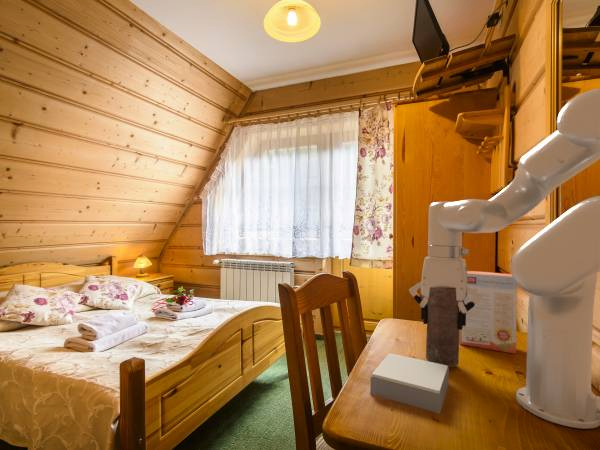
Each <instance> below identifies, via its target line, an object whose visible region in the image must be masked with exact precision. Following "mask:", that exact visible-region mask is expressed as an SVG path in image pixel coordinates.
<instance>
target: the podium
mask: <svg viewBox="0 0 600 450" xmlns="http://www.w3.org/2000/svg"><path fill="white" fill-rule="evenodd" d="M449 376H450V367H448V366H447V365H442V364H438V363H433V362H429V361H428V360H423V359H420V358H413V357H409V356H405V355H400V354H395V353H390V352H389V353H388V354H387V355H386V356H385V357H384V358H383V360H382V361H381V362H380V363H379V365H377V367H376V368H375V369H374V370H373V372H372V373H371V375H370V387H369V388H370V390H369V391H370V395H374V396H376V397H377V396H378V397H379V398H380V397H381V398H384V399H387V400H391V401H394V402H399V403H402V404H404V405H408V406H412V407H416V408H417V409H418V408H419V409H422V410H426V411H428V412H433V413H436V414H439V415H440V414H441V412H442V408H443V405H444V403H445V402H444V401H445V398H446V394H447V391H448V387H449V385H450V384H449V381H450V377H449Z"/></svg>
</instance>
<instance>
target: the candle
mask: <svg viewBox="0 0 600 450" xmlns="http://www.w3.org/2000/svg"><path fill="white" fill-rule="evenodd" d="M427 304H428V307H427V324H426V343H425V359H426V361H428V362H433V363H438V364H442V365H447V366H448V368H453V367H457V366H458V365H459V358H460V357H459V356H460V355H459V354H460V352H459V351H460V344H459V329H458V323H459V306H458V302H457V300H456V288H432V287H430V292H429V298H428V303H427Z"/></svg>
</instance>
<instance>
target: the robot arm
mask: <svg viewBox="0 0 600 450" xmlns="http://www.w3.org/2000/svg"><path fill="white" fill-rule="evenodd" d="M599 160H600V88H594V89H592V90H589V91H585V92H583V93H580V94H579V95H576V96H574V97H573V98H571V99H570V100H569V101H568V102H566V103H565V105H564V106H562V108H561V110H560V111H559V113H558V116H557V119H556V130H555V131H554V132H552V133H551V134H550V135H548V136H547V137H546V138H545V139H543V140H542V141H540V142H539V143H538V144H537V145H535V146H534V147H533V148H531V149H530V150H529V151H528V152H526V153H525V154H523V155H522V156H521V157H520V159H519V160H518V165H517V172H516V175H514V178H513V180H512V181H511V182H510V183H509V184H508V185H507V186H506V187H504V188H503V189H502V190H501V191H499V192H498V193H497V194H496V195H494V196H493V197H491V198H490V199H477V198H469V199H468V198H467V199H463V200H457V201H456V200H455V201H435V202H432V203H430V205H428V225H427V227H428V228H427V229H428V230H427V233H428V234H427V235H428V236H427V256H425V257H424V260H423V266H422V271H421V272H422V273H421V281H419V282H417V283H416V284H415V285H413V286H412V287H410V288H408V292H409V293H410V295H411V296H412V297H413V299H414V301H416V303H417V304H418V305H419V307H420V309H421V311H420V320H423V323H422V324H423V325H427V307H428V298H429V292H430V287H432V288H456V300H457V302H458V306H459V308H460V311H459V323H458V329H459V330H462V328H463V326H466V312H467V311H469V310H470V309H471V308H473V307H474V306H475V305H476V304H477V303H478V302H479V301H480V300H481V298H482V297H481V296H480V295H479V294H478V293H477V292H475V291H474V290H473V289H472V288H471V287H469V286H468V285H467V271H468V270H467V262H466V259H464V258H462V257H463V256H465V255H466V256H467V255H469V249H467V248H464V247H463V233H467V234H482V233H484V234H490V233H491V234H492V233H496V232H500V231H501V230H504V229H505V228H507V227H508V226H510V225H512V224H513V223H515V222H516V221H518V220H519V219H521V218H523V217H524V216H526V215H527V214H528V213H530V212H531V211H533V210H534V209H535V208H536V207H537V206H539V205H540V204H541V202H543V201H544V200H545V199H547V197H548V196H550V194H551V193H552V192H553V191H554V190H555V189H557V188H558V187H560V186H561V185H563V184H565V182H567V181H569V180H570V179H571V178H573V177H575V176H576V175H578V174H579V173H581V172H583V171H584V170H585V169H587V168H588V167H590V166H591V165H592V164H595V163H596V162H597V161H599ZM599 272H600V195H596V196H593V197H589V198H586V199H584V200H582V201H580V202H578V203H576V204H575V205H574V206H572V207H570V208H569V209H567V211H565V212H564V213H562V214H561V215H560V216H559V217H557V218H556V219H555V220H553V221H552V222H550V223H549V224H548V225H547V226H545V227H544V228H543V229H542V230H541V231H539V232H538V233H536V234H535V235H534V236H532V237H531V238H530V239H528V241H526V242H524V244H523V245H521V246H520V247H518V249H517V250H516V252H515V253H514V254H513V256H512V258H511V261H510V274H512V277H513V279H514V281H515V282H516V284H517V287H519V288H520V289H521V290H523V291H524V292H526V293H527V294H529V298H528V306H527V332H526V333H527V334H526V335H527V336H526V339H527V340H526V372H525V373H526V376H525V378H526V379H525V381H526V382H525V384H526V385H525V386H523V387H521V388H519V389H518V390H516V394H515V395H516V401H517V403H518V404H519V405H520V406H522V408H523V409H525V410H527V411H528V412H529V413H531V414H533V415H534V416H536V417H538V418H541V419H544V420H545V421H548V422H551V423H554V424H557V425H561V426H564V427H569V428H575V429H584V430H585V429H594V428H595V429H596V428H598V427H600V396H597V395H596V394H595V393H594V392H593V391H592V363H593V361H592V359H593V358H592V357H593V356H592V355H593V354H592V353H593V332H594V330H593V327H594V325H593V324H594V307H595V306H594V305H595V297H596V296H595V295H596V290H597V282H598V273H599ZM419 289H420V294H421V295H420V294H419V293H418V292H417V291H418V290H419ZM467 293H468V294H470V295H471V296H472V297H473V299H472V300H471V301H470V302H469V303H467V304H465V302H464V300H465V299H466V297H467Z"/></svg>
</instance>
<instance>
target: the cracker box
mask: <svg viewBox="0 0 600 450" xmlns="http://www.w3.org/2000/svg"><path fill="white" fill-rule="evenodd" d="M467 285H468V286H469V287H471V288H472V289H473V290H474V291H475V292H477V293H478V294H479V295H480V296H481V297H482V298H481V300H480V301H479V302H478V303H477V304H476V305H475V306H474V307H473V308H471V309H470V310H469V311H467V312H466V326H463V328H462V330H459V345H463V346H469V347H476V348H480V349H487V350H491V351H499V352H502V353H508V354H513V355H514V354H516V353H517V314H518V313H517V312H518V311H517V302H518V301H517V300H518V295H517V294H518V289H517V288H518V285H517V284H516V282H515V281H514V279H513V277H512V274H511V273H501V272H489V271H476V270H475V271H473V270H467ZM472 299H473V297H472V296H471V295H470V294H468V293H467V297H466V299H465V300H464V302H465V304H467V303H469V302H470V301H471V300H472ZM459 311H460V308H459Z"/></svg>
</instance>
